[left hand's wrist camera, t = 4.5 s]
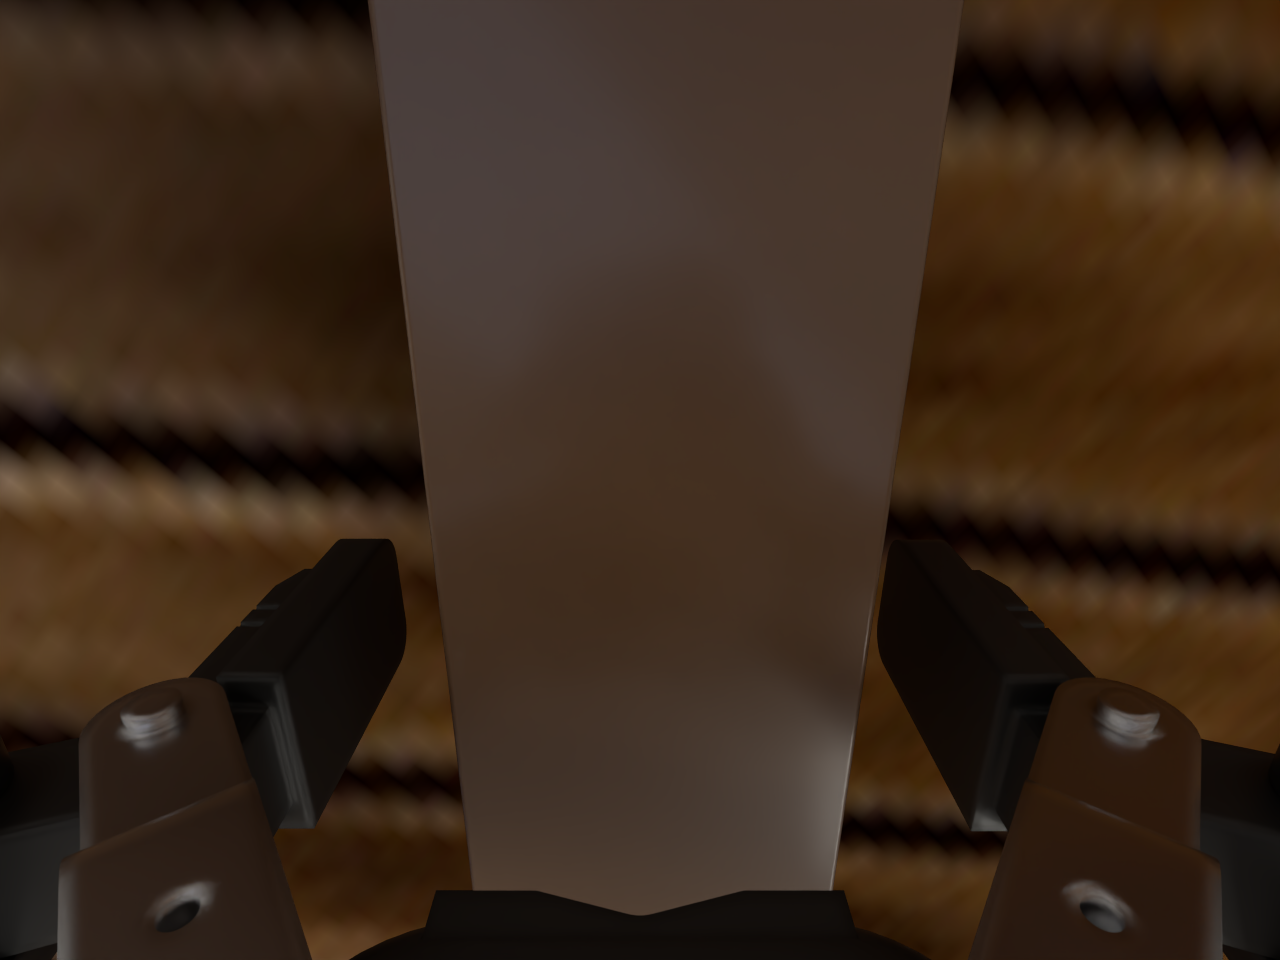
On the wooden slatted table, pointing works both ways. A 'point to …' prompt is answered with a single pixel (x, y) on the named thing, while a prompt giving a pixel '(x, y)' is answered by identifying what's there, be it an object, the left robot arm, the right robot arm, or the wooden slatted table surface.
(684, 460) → the beam
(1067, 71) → the wooden slatted table surface
